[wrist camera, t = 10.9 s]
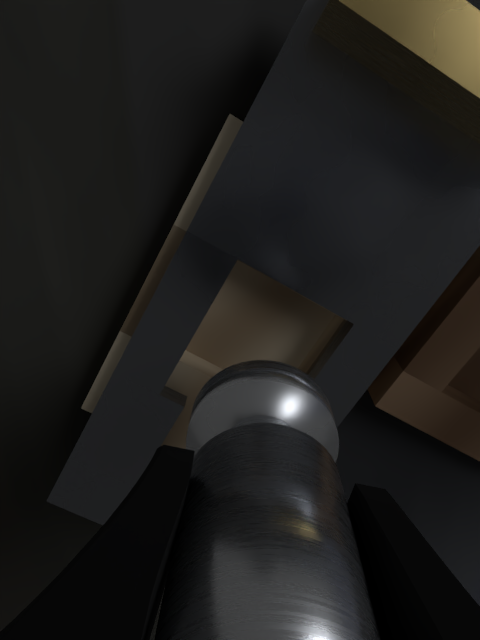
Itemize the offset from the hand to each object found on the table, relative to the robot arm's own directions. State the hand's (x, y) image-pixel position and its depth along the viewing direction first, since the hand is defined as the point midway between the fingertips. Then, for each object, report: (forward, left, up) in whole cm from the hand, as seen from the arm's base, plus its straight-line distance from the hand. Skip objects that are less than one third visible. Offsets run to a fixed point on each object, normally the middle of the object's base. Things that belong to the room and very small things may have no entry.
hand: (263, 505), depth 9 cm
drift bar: (0, 0, -8) cm, 8 cm away
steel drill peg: (0, 0, -3) cm, 3 cm away
